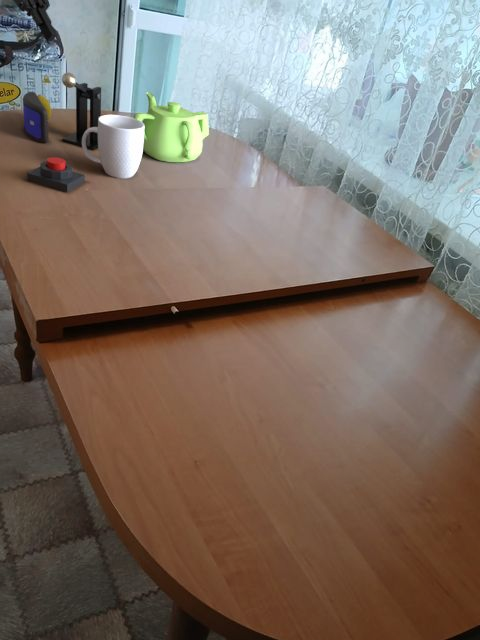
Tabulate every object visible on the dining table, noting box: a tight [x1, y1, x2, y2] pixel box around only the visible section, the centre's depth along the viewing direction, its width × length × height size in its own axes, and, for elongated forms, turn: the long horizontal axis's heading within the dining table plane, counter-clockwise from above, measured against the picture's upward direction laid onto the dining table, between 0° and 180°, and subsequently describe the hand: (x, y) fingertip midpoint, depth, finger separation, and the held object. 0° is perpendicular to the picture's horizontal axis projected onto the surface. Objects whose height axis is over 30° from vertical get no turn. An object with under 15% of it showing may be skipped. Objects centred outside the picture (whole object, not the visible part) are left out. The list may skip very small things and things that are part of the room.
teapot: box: [133, 91, 210, 163], centre depth 154 cm, size 19×20×14 cm
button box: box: [26, 160, 86, 193], centre depth 127 cm, size 10×8×4 cm
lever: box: [61, 72, 92, 100], centre depth 141 cm, size 14×3×3 cm, turn 165°
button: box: [46, 157, 66, 170], centre depth 126 cm, size 4×4×2 cm
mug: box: [81, 114, 144, 179], centre depth 136 cm, size 15×11×13 cm
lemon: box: [37, 93, 52, 121], centre depth 156 cm, size 6×6×8 cm
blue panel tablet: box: [22, 91, 49, 144], centre depth 147 cm, size 16×5×9 cm, turn 28°
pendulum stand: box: [62, 82, 102, 151], centre depth 149 cm, size 12×9×15 cm
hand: (51, 38), depth 133 cm, fingers closed
